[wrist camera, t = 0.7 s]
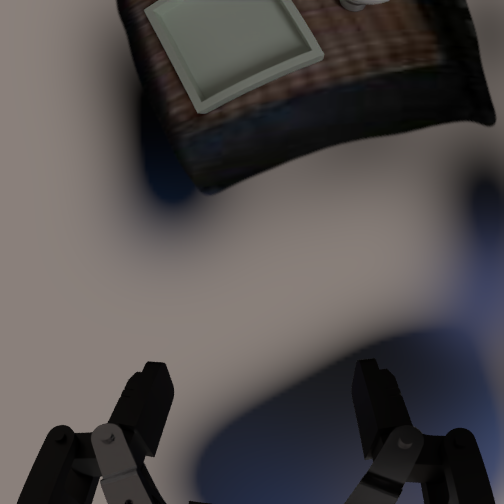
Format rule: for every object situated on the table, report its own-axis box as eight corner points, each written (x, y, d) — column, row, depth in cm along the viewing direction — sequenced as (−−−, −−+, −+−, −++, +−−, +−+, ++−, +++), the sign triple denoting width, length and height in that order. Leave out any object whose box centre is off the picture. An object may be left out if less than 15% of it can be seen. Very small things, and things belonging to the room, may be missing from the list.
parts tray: (154, 16, 25) (143, 10, 22) (259, -38, 21) (255, -49, 19) (205, 113, 29) (197, 113, 27) (322, 60, 25) (324, 54, 23)
